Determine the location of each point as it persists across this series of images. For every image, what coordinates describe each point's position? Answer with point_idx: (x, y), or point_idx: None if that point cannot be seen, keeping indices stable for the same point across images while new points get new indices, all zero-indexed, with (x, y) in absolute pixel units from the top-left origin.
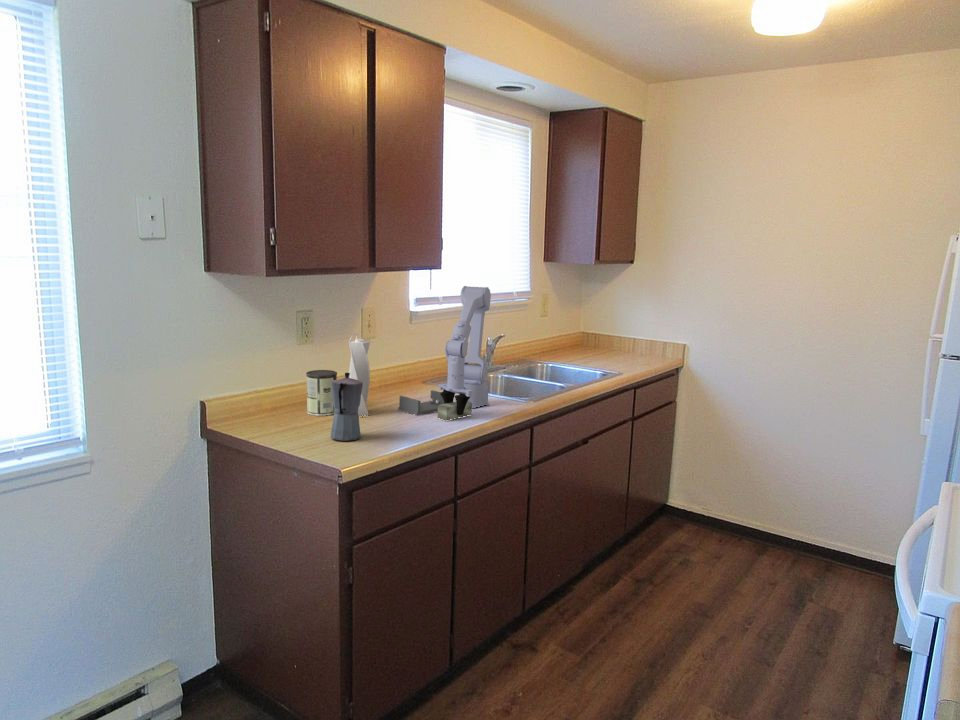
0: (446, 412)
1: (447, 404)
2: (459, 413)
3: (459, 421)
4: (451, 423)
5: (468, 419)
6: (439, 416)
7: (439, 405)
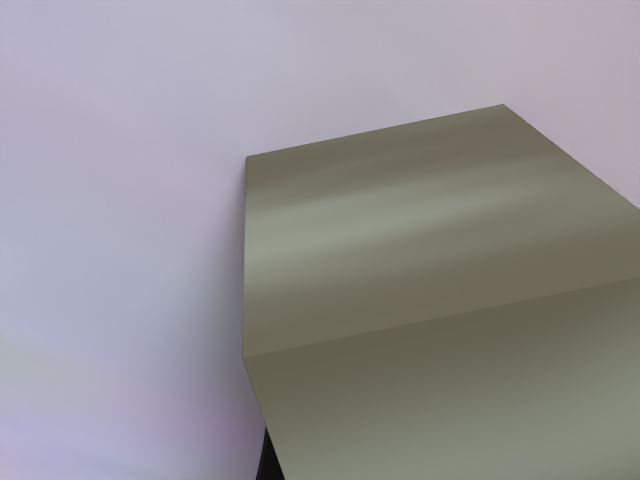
0: (253, 257)
1: None
2: (263, 457)
3: (162, 336)
4: (76, 170)
5: (215, 458)
6: (469, 138)
7: (637, 291)
